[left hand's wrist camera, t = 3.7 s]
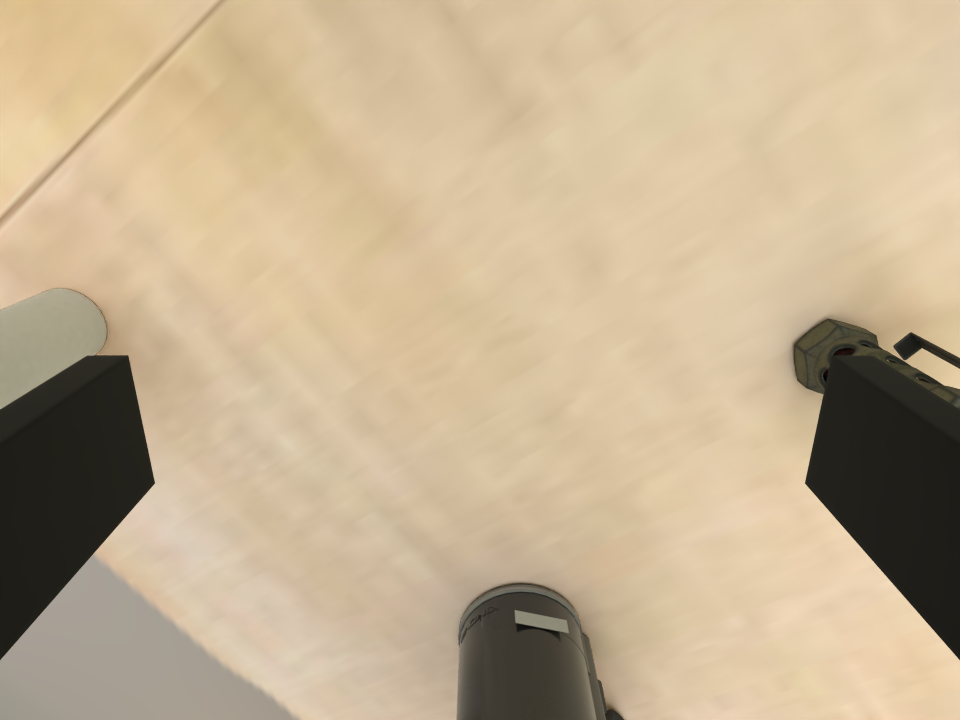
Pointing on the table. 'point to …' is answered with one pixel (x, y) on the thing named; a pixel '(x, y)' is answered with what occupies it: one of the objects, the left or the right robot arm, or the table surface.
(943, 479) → the left robot arm
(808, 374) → the grenade
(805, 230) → the table surface
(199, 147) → the table surface
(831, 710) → the table surface
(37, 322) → the bottle
